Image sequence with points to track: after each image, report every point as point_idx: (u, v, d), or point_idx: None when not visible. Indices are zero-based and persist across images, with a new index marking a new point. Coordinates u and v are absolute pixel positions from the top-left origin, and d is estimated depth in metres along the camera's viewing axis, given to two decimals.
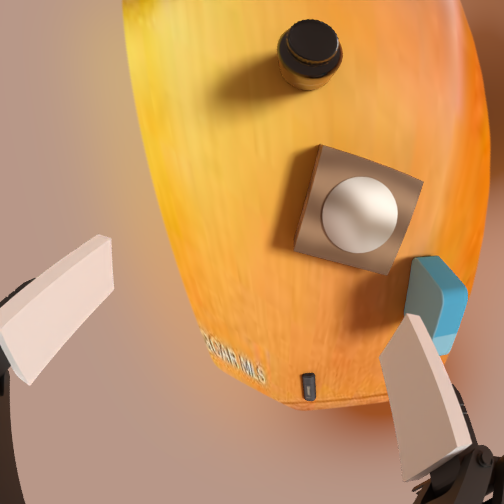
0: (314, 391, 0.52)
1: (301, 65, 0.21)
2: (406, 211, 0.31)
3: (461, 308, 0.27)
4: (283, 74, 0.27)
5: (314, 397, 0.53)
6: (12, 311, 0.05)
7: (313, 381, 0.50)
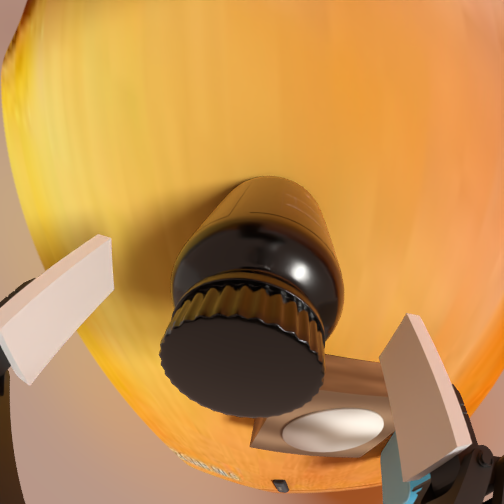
0: (286, 488, 0.42)
1: None
2: None
3: None
4: None
5: (287, 490, 0.43)
6: (12, 311, 0.05)
7: (284, 485, 0.40)
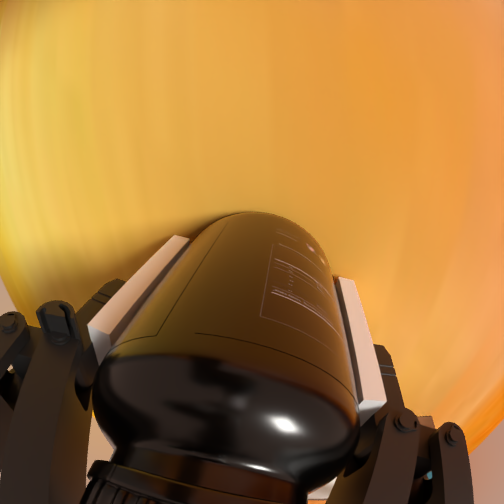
0: None
1: None
2: None
3: None
4: None
5: None
6: (117, 314, 0.07)
7: None
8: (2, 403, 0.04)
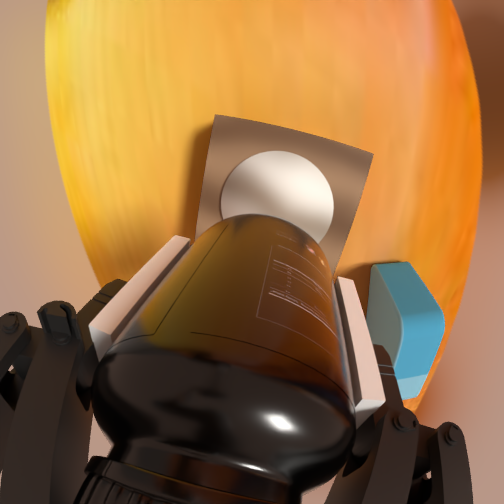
0: None
1: None
2: (348, 198, 0.23)
3: (432, 343, 0.19)
4: None
5: None
6: (118, 314, 0.07)
7: None
8: (3, 403, 0.04)
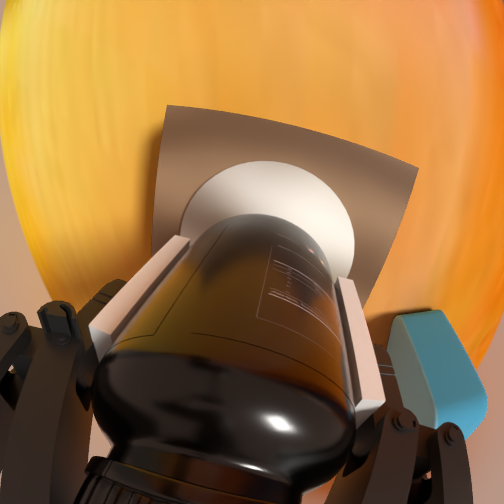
0: None
1: None
2: (377, 237, 0.14)
3: (467, 431, 0.10)
4: None
5: None
6: (118, 314, 0.07)
7: None
8: (3, 403, 0.04)
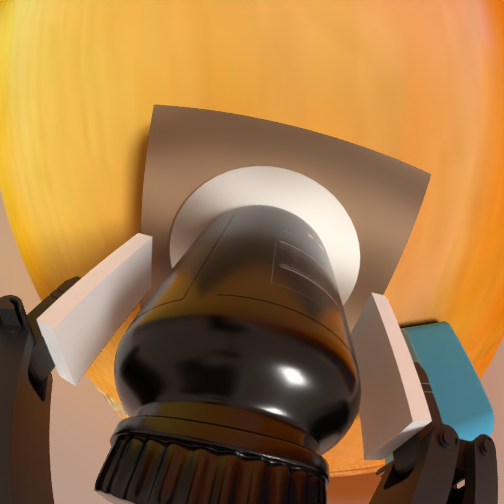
0: None
1: None
2: (384, 249, 0.13)
3: None
4: None
5: None
6: (64, 310, 0.06)
7: None
8: None
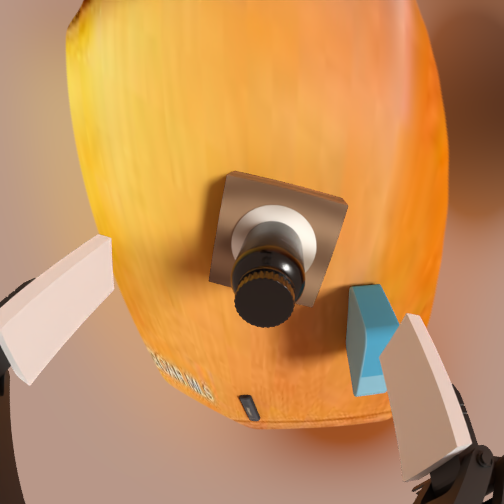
0: (255, 412, 0.51)
1: None
2: (327, 239, 0.31)
3: None
4: None
5: (257, 418, 0.52)
6: (12, 311, 0.05)
7: (251, 403, 0.50)
8: None
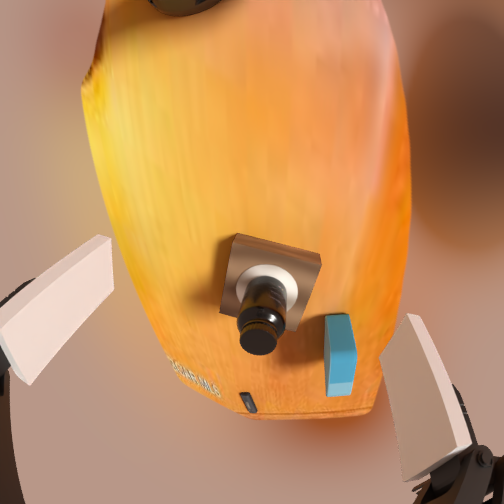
0: (253, 406, 0.64)
1: None
2: (306, 287, 0.43)
3: (350, 366, 0.39)
4: None
5: (255, 410, 0.65)
6: (12, 311, 0.05)
7: (249, 398, 0.63)
8: None
